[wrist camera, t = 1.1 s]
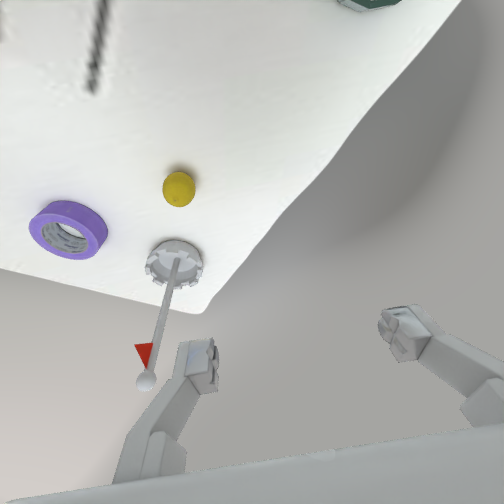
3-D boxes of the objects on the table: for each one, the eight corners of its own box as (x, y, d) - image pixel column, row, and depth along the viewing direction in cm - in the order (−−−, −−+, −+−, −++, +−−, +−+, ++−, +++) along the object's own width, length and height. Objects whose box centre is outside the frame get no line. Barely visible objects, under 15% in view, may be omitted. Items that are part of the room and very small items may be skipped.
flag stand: (211, 267, 60) (200, 395, 38) (167, 277, 61) (131, 406, 39) (191, 231, 51) (160, 370, 29) (140, 244, 52) (74, 385, 30)
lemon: (197, 167, 41) (191, 187, 35) (197, 194, 44) (192, 216, 39) (166, 163, 40) (155, 183, 34) (169, 190, 44) (159, 213, 38)
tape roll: (43, 190, 42) (25, 204, 38) (111, 214, 46) (101, 229, 43) (45, 233, 49) (30, 249, 45) (104, 251, 53) (95, 266, 49)
